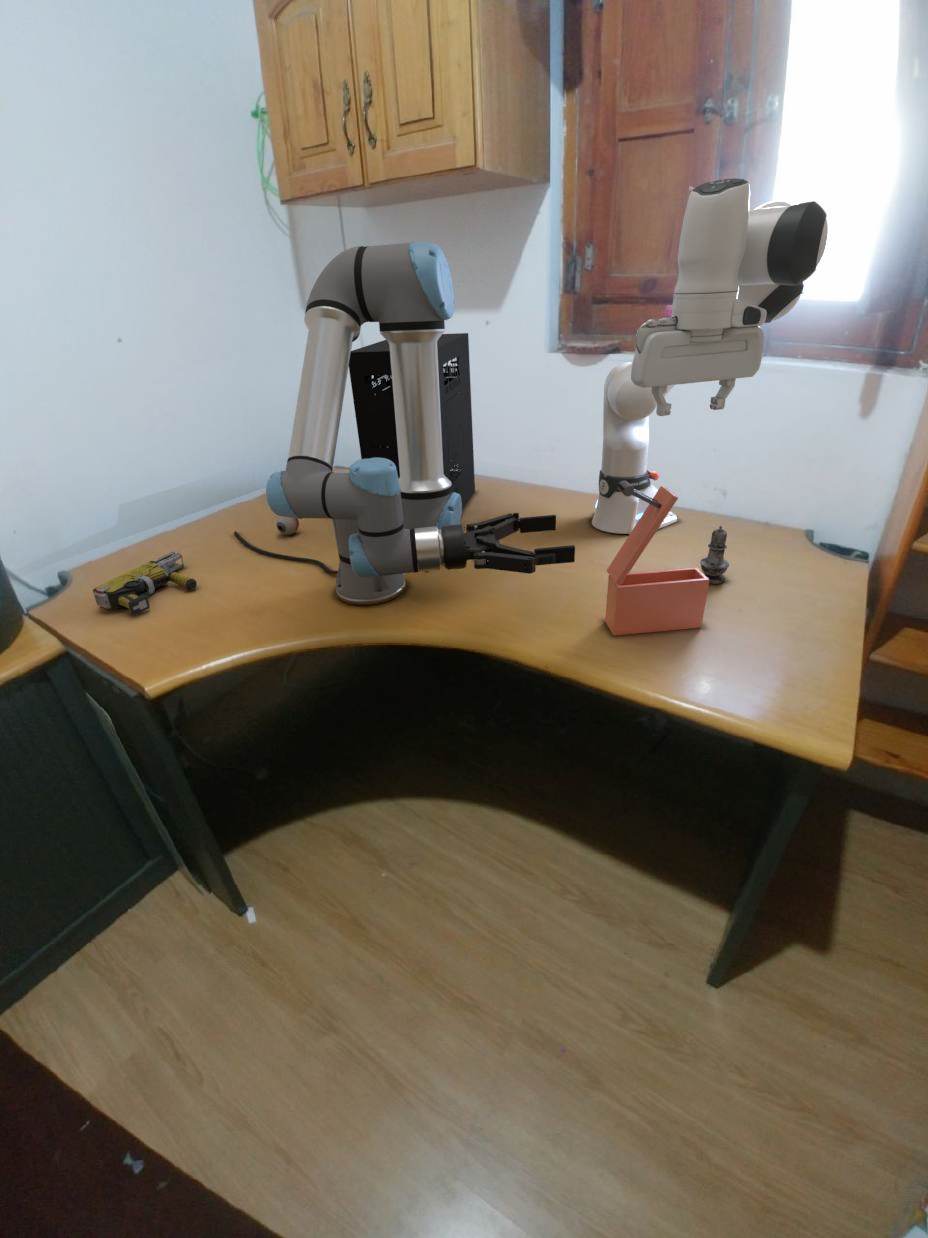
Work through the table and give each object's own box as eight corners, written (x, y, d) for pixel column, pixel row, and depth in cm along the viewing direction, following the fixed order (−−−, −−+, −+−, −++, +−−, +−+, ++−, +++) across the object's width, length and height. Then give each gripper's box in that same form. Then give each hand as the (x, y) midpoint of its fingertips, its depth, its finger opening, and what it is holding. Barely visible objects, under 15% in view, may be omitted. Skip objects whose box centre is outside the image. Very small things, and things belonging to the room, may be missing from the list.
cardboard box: (444, 537, 157) (431, 349, 135) (371, 534, 162) (346, 352, 139) (475, 491, 189) (468, 332, 166) (413, 489, 193) (398, 335, 171)
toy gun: (220, 560, 144) (169, 549, 148) (142, 602, 124) (86, 589, 128) (223, 577, 146) (173, 566, 150) (147, 622, 126) (91, 608, 130)
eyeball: (273, 537, 164) (268, 516, 161) (287, 528, 169) (282, 508, 166) (291, 539, 161) (286, 518, 158) (305, 530, 166) (301, 510, 163)
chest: (689, 613, 118) (697, 567, 113) (701, 627, 113) (709, 579, 108) (604, 621, 117) (608, 574, 112) (613, 635, 112) (617, 587, 107)
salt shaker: (728, 584, 127) (739, 531, 121) (699, 583, 128) (707, 530, 122) (724, 572, 132) (733, 520, 126) (695, 571, 133) (703, 519, 127)
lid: (666, 487, 104) (625, 467, 102) (678, 497, 100) (635, 476, 97) (611, 572, 111) (571, 555, 109) (620, 585, 107) (579, 567, 104)
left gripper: (439, 539, 115) (548, 529, 117) (448, 602, 94) (582, 590, 95) (436, 502, 112) (549, 492, 113) (445, 559, 90) (584, 546, 91)
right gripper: (649, 320, 84) (639, 422, 91) (777, 310, 88) (758, 409, 95) (627, 318, 89) (620, 415, 96) (749, 308, 93) (733, 402, 100)
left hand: (564, 537), depth 104 cm, fingers open, 13 cm apart
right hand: (690, 412), depth 95 cm, fingers open, 8 cm apart
